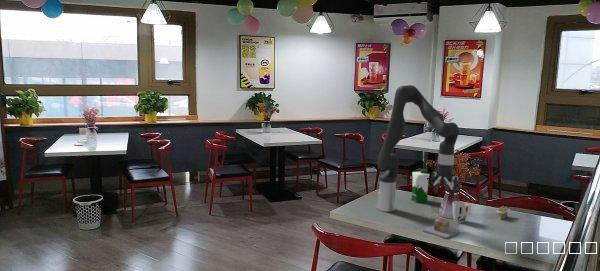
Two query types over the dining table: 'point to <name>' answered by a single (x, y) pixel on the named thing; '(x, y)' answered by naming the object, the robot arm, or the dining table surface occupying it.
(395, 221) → the dining table surface
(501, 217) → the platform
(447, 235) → the grey mat
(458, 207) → the cup
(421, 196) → the milk carton
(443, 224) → the walnut cube
